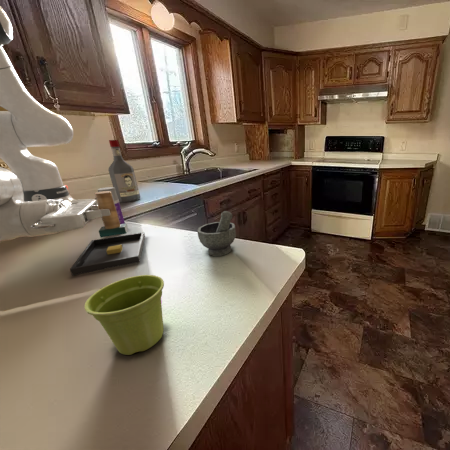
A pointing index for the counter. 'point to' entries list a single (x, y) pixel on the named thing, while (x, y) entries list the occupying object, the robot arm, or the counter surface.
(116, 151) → the liquor
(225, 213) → the mortar and pestle
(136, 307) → the plant pot
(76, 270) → the pan
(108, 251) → the block
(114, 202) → the container
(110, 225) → the brush
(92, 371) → the counter surface
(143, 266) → the counter surface
